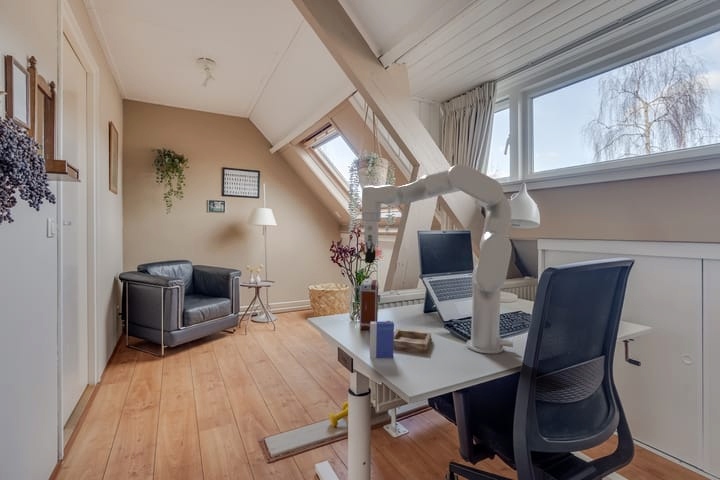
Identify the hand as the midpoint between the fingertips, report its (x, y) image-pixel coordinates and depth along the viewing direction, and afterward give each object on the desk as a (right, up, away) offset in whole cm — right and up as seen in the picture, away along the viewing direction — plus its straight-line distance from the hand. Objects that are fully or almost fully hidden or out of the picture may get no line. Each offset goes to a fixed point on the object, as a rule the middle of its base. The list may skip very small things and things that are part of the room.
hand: (370, 261), depth 132 cm
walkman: (+3, -31, -20) cm, 37 cm away
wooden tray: (+15, -31, -8) cm, 35 cm away
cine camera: (0, -29, +17) cm, 34 cm away
